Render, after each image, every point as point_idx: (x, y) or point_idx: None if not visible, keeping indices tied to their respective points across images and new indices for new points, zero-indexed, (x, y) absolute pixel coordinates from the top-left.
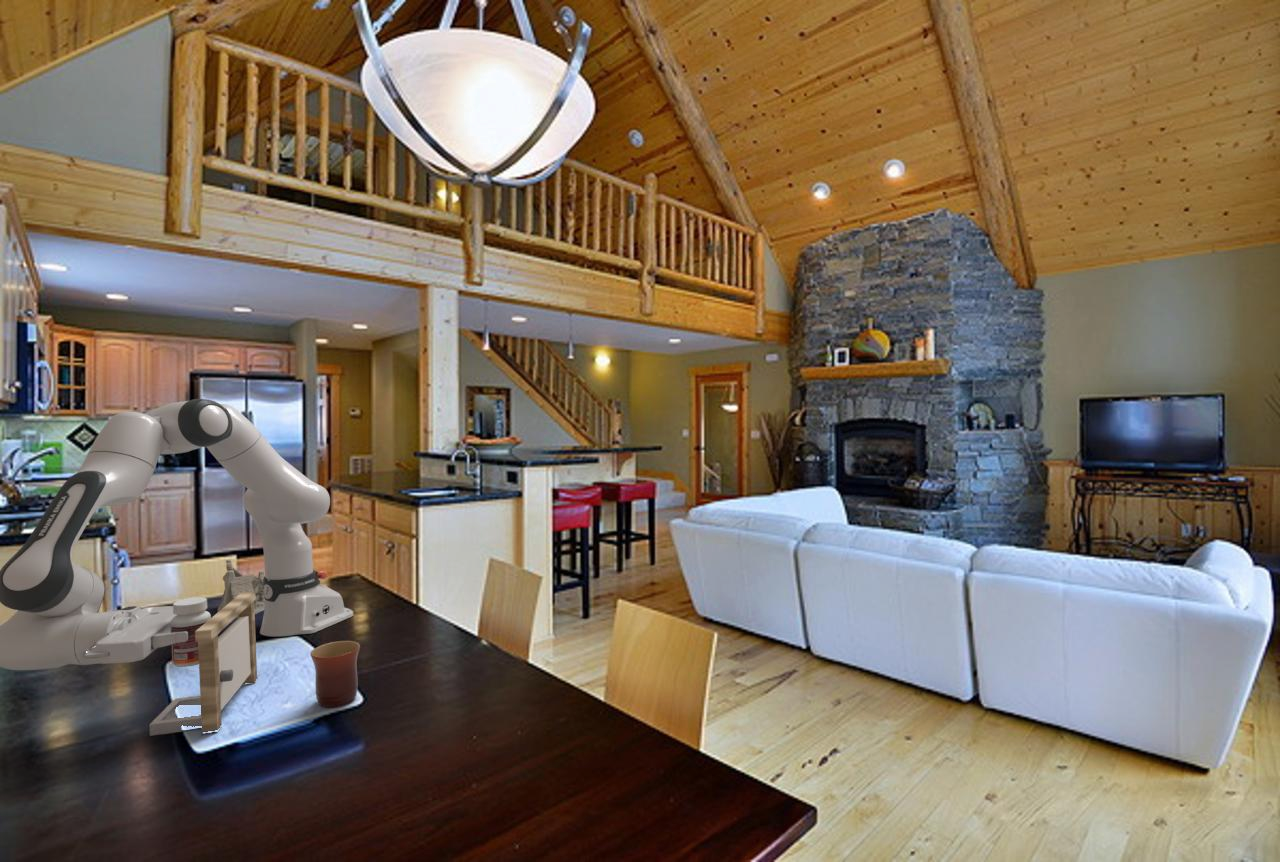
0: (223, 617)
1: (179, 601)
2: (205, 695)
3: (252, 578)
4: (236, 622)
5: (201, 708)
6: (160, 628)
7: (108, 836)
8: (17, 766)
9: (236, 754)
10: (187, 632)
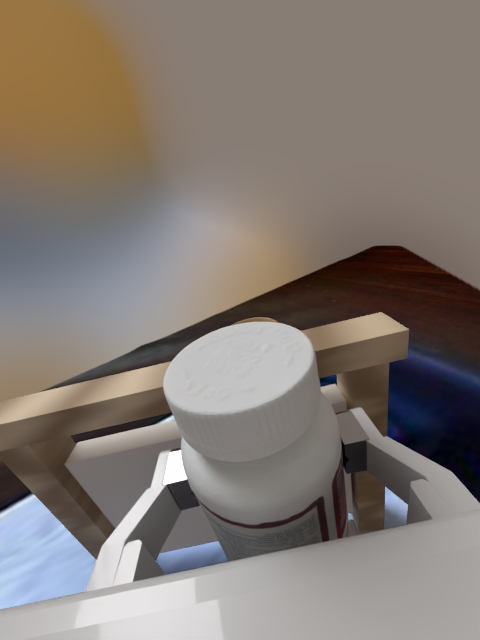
0: None
1: (223, 396)
2: None
3: None
4: (122, 445)
5: (384, 494)
6: (383, 530)
7: None
8: None
9: (420, 427)
10: (348, 410)
